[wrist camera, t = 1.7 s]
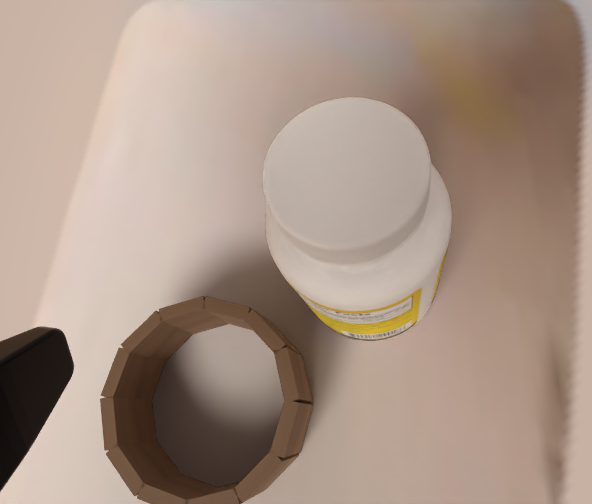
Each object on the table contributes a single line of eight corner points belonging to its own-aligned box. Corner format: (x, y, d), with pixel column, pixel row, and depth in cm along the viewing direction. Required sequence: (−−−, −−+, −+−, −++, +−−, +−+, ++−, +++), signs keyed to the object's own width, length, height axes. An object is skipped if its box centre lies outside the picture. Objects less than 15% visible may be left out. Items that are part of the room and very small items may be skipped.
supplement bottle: (361, 196, 22) (335, 35, 12) (463, 271, 20) (522, 145, 11) (280, 287, 21) (190, 187, 12) (377, 372, 19) (359, 332, 10)
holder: (214, 542, 18) (181, 565, 15) (111, 399, 21) (66, 396, 18) (348, 404, 19) (339, 401, 16) (232, 281, 21) (207, 261, 19)
